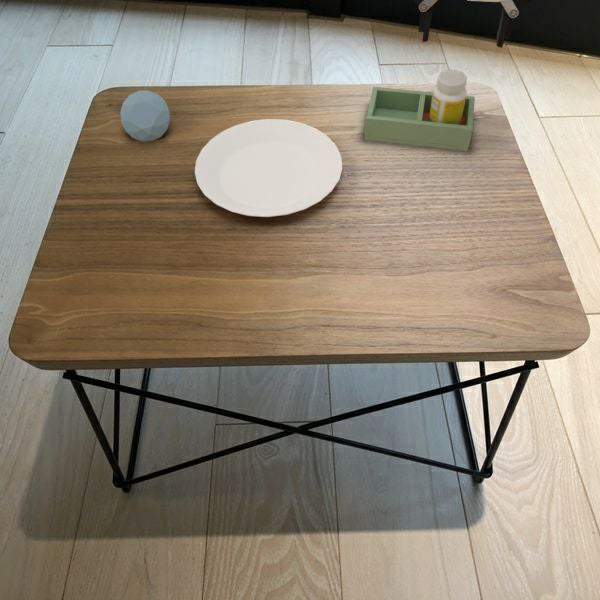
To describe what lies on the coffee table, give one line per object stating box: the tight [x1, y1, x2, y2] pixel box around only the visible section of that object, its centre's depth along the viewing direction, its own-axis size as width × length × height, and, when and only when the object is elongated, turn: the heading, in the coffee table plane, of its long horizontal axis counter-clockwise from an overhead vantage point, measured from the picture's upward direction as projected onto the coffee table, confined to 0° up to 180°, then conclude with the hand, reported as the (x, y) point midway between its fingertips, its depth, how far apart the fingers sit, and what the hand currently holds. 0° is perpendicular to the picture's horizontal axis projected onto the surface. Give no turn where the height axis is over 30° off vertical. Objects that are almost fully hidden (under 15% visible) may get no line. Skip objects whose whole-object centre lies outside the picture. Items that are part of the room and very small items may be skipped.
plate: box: [194, 118, 344, 218], centre depth 88 cm, size 21×21×2 cm
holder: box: [363, 86, 476, 152], centre depth 93 cm, size 8×15×4 cm, turn 78°
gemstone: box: [119, 89, 171, 142], centre depth 95 cm, size 8×8×5 cm
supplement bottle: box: [428, 69, 468, 125], centre depth 90 cm, size 5×5×8 cm
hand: (462, 39), depth 81 cm, fingers open, 9 cm apart
